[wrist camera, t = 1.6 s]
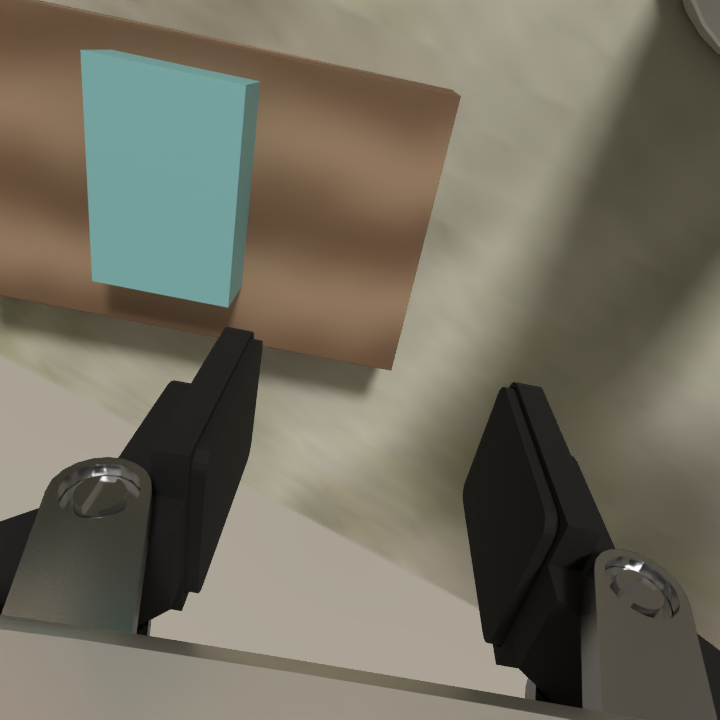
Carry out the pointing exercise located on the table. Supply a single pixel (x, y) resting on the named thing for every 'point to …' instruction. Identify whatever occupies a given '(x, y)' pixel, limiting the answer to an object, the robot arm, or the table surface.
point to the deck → (267, 196)
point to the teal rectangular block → (167, 174)
